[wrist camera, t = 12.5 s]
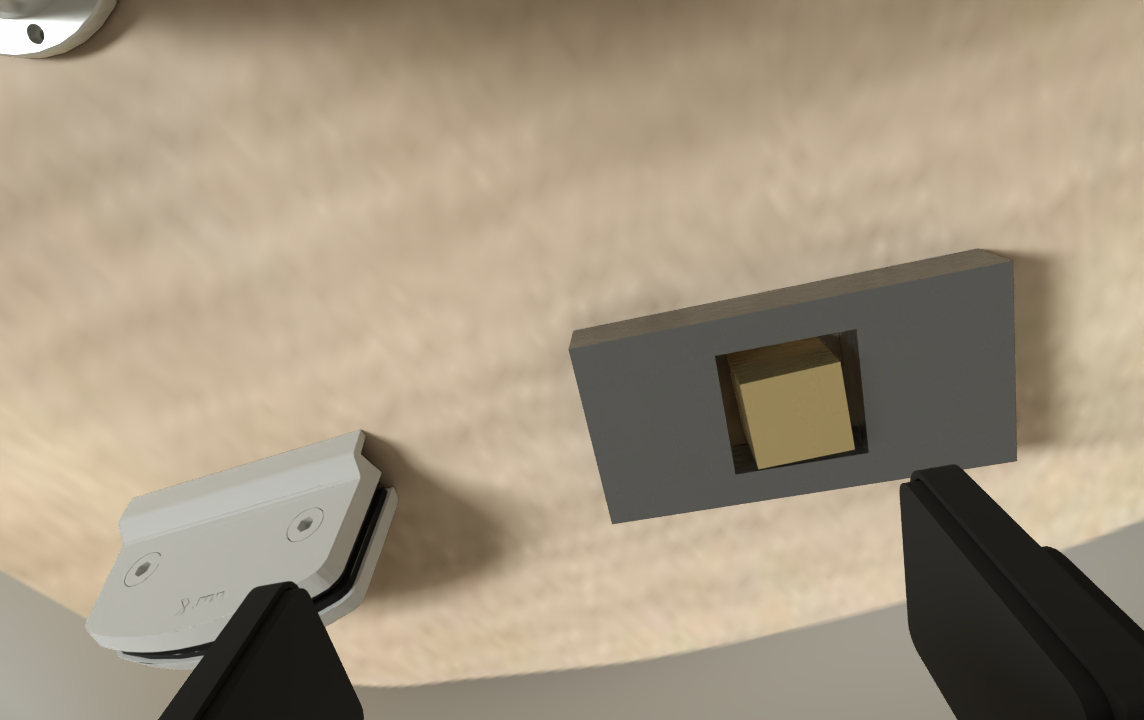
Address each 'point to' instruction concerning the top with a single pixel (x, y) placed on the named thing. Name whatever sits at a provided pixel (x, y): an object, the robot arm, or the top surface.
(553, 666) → the top surface
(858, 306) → the grey square hole block
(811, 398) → the brass cube
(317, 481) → the hinge
